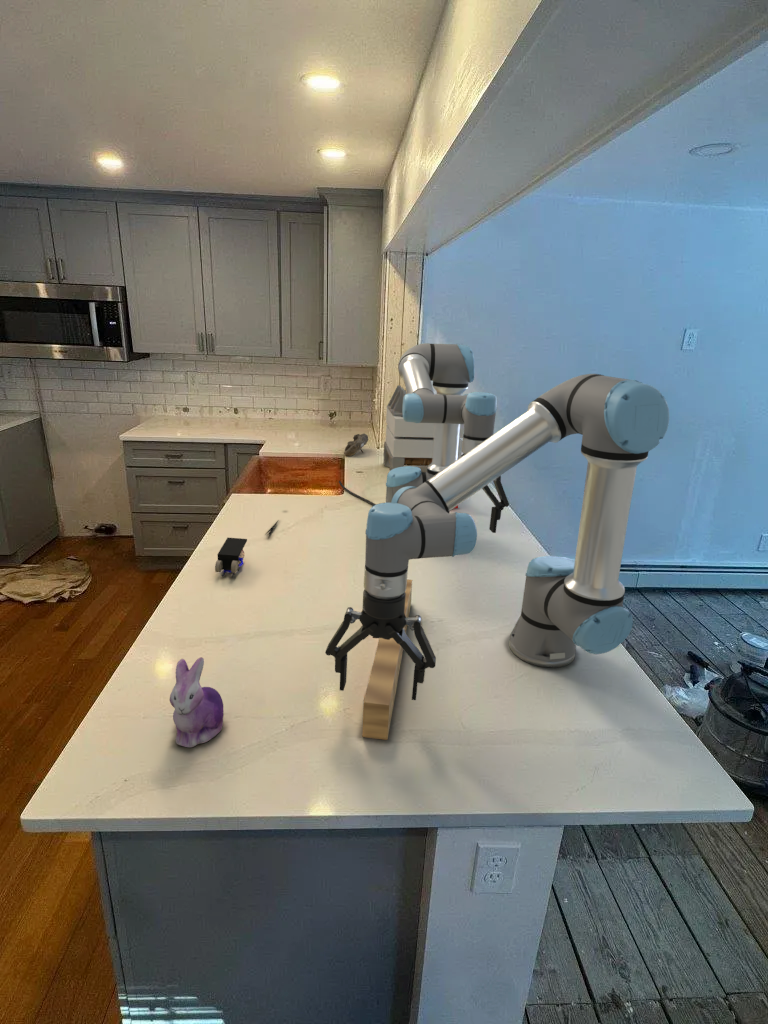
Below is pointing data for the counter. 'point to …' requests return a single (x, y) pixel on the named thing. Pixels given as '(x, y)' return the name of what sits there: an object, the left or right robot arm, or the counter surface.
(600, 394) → the right robot arm
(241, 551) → the black boxy wheeled piece
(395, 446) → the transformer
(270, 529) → the feather
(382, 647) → the post
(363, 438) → the fossil
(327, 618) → the counter surface
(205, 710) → the figurine
